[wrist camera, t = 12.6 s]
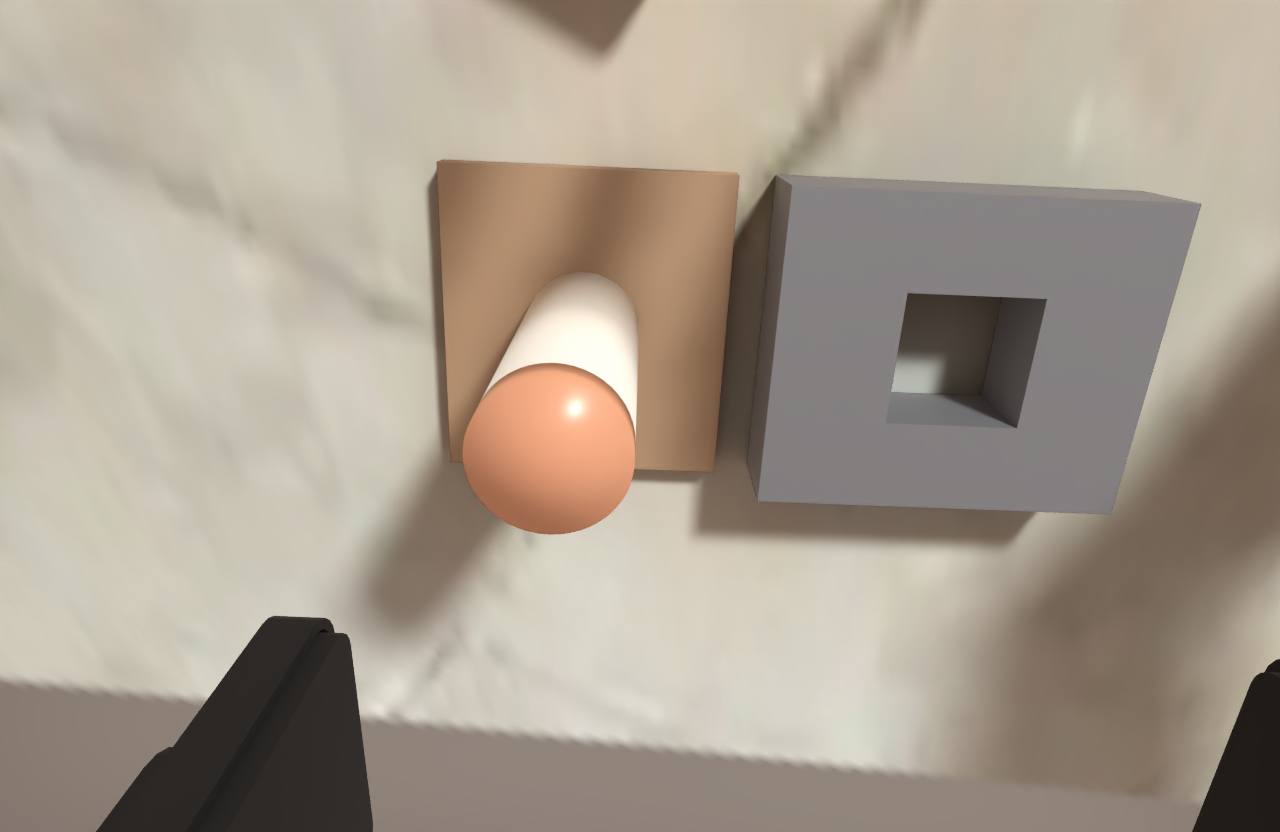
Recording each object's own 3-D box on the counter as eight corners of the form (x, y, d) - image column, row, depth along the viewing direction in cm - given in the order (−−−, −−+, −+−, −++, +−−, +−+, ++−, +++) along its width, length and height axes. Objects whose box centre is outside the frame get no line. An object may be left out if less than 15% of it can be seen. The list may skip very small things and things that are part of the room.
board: (736, 172, 31) (739, 175, 30) (711, 461, 35) (713, 472, 35) (442, 159, 31) (436, 161, 30) (455, 451, 35) (450, 462, 34)
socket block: (1143, 191, 31) (1201, 203, 28) (1067, 475, 36) (1110, 514, 33) (776, 174, 31) (792, 185, 28) (746, 463, 36) (757, 501, 32)
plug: (640, 273, 31) (637, 380, 20) (637, 382, 33) (632, 536, 22) (525, 270, 31) (458, 375, 20) (527, 379, 33) (466, 532, 22)
